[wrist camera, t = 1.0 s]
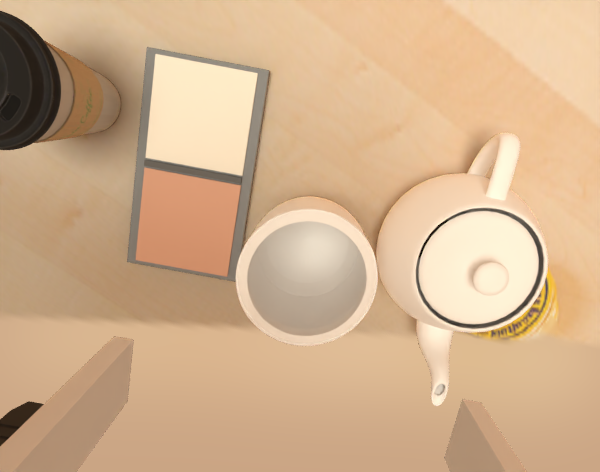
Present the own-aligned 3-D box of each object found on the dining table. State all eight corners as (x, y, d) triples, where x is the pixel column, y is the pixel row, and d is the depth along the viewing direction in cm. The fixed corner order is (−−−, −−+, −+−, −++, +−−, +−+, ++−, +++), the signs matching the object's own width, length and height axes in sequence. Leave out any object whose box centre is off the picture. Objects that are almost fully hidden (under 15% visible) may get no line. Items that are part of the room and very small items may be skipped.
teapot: (401, 118, 41) (438, 107, 29) (550, 150, 41) (646, 152, 29) (345, 340, 47) (356, 407, 35) (476, 367, 47) (532, 443, 35)
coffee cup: (130, 158, 43) (36, 164, 28) (41, 136, 42) (-101, 131, 28) (144, 64, 41) (49, 19, 26) (51, 41, 40) (-98, -18, 26)
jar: (319, 299, 45) (323, 371, 31) (241, 248, 44) (207, 299, 30) (376, 222, 43) (409, 261, 29) (296, 167, 42) (288, 178, 28)
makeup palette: (131, 259, 45) (125, 263, 44) (150, 49, 40) (144, 45, 39) (237, 278, 45) (235, 283, 44) (270, 72, 40) (268, 69, 39)
